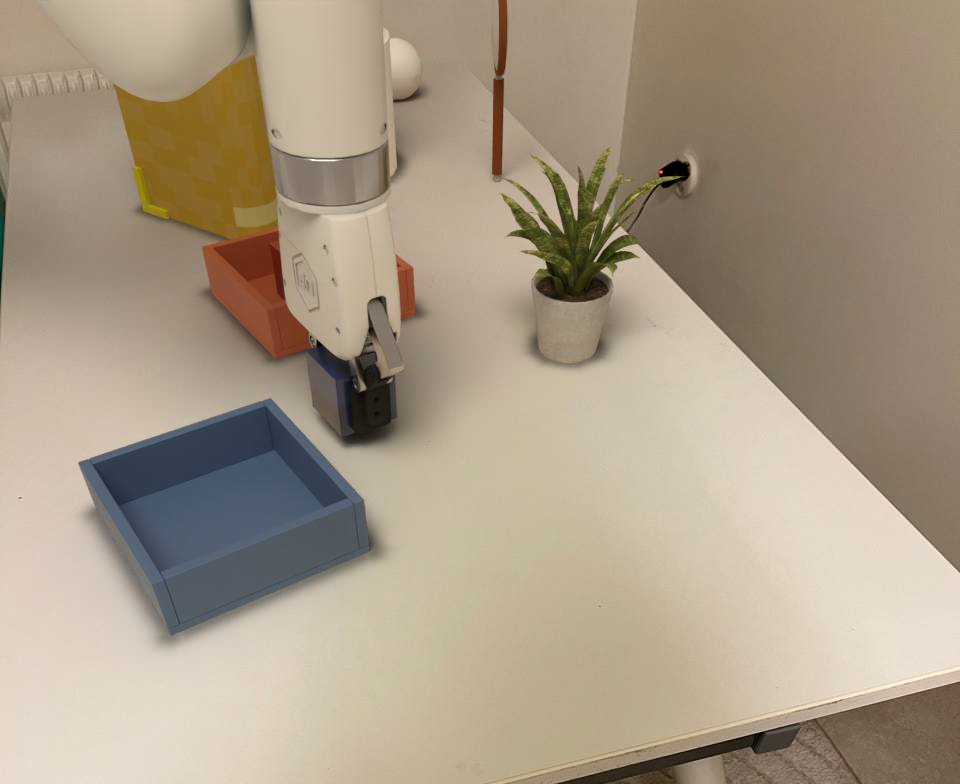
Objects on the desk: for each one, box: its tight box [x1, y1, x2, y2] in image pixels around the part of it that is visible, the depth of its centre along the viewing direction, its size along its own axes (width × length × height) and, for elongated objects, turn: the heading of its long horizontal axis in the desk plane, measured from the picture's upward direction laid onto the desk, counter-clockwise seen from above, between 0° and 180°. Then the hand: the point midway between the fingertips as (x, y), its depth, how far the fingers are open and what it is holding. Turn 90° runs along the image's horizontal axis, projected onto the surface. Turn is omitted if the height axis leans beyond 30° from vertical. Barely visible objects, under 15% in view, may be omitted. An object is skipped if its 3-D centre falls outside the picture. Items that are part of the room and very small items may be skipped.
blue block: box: [305, 336, 398, 438], centre depth 70 cm, size 5×5×5 cm
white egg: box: [389, 37, 423, 101], centre depth 125 cm, size 10×7×7 cm
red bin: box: [201, 227, 417, 360], centre depth 85 cm, size 15×15×5 cm
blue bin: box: [77, 397, 371, 636], centre depth 63 cm, size 15×15×5 cm
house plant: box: [499, 147, 686, 364], centre depth 76 cm, size 14×14×16 cm
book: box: [113, 55, 278, 240], centre depth 91 cm, size 17×7×25 cm, turn 55°
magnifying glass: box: [490, 0, 509, 183], centre depth 100 cm, size 9×2×20 cm, turn 3°
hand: (354, 407), depth 72 cm, fingers closed on blue block, 5 cm apart
